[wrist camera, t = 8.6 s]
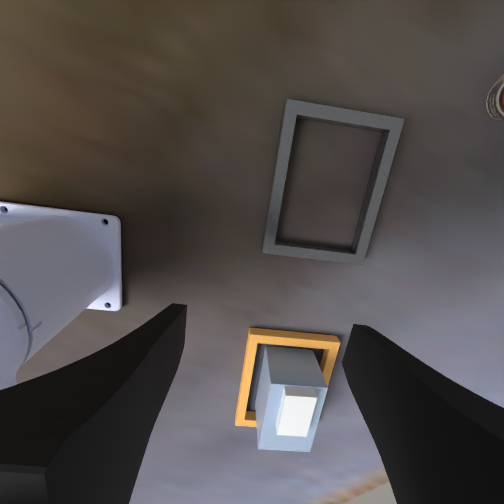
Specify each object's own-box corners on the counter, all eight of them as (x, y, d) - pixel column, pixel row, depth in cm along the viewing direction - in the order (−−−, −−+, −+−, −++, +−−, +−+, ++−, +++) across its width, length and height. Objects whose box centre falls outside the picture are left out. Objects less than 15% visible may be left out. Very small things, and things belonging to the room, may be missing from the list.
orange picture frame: (235, 416, 26) (235, 425, 25) (249, 327, 23) (249, 334, 22) (312, 421, 27) (315, 430, 26) (336, 335, 23) (340, 342, 22)
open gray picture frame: (261, 249, 21) (262, 253, 20) (284, 102, 17) (287, 98, 16) (357, 260, 21) (362, 265, 20) (396, 121, 18) (404, 118, 17)
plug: (255, 402, 26) (258, 459, 21) (265, 345, 24) (272, 392, 19) (298, 405, 26) (312, 461, 21) (312, 349, 24) (331, 396, 19)
